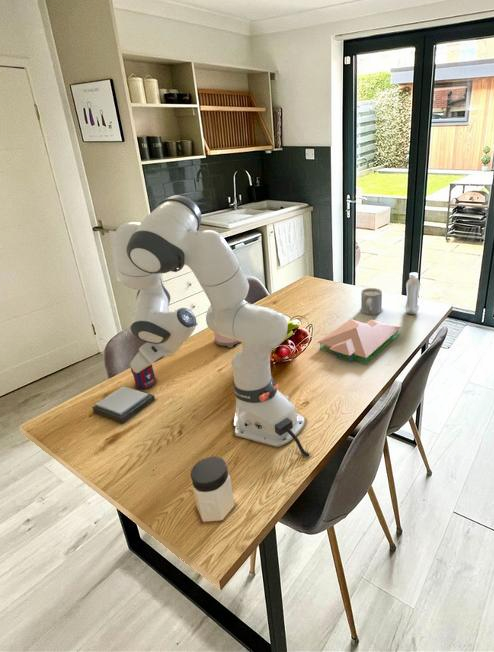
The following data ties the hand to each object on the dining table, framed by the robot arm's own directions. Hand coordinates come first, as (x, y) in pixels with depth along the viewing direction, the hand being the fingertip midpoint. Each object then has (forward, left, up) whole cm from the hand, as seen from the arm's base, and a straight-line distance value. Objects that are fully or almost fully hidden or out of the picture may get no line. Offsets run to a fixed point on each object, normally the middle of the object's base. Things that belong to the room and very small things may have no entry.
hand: (150, 362), depth 138 cm
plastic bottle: (-56, -104, -10) cm, 119 cm away
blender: (0, -39, -11) cm, 40 cm away
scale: (0, +12, -11) cm, 16 cm away
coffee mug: (-38, -96, -11) cm, 104 cm away
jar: (-56, +24, -11) cm, 62 cm away
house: (-48, -65, -11) cm, 81 cm away
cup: (+7, 0, -11) cm, 13 cm away
